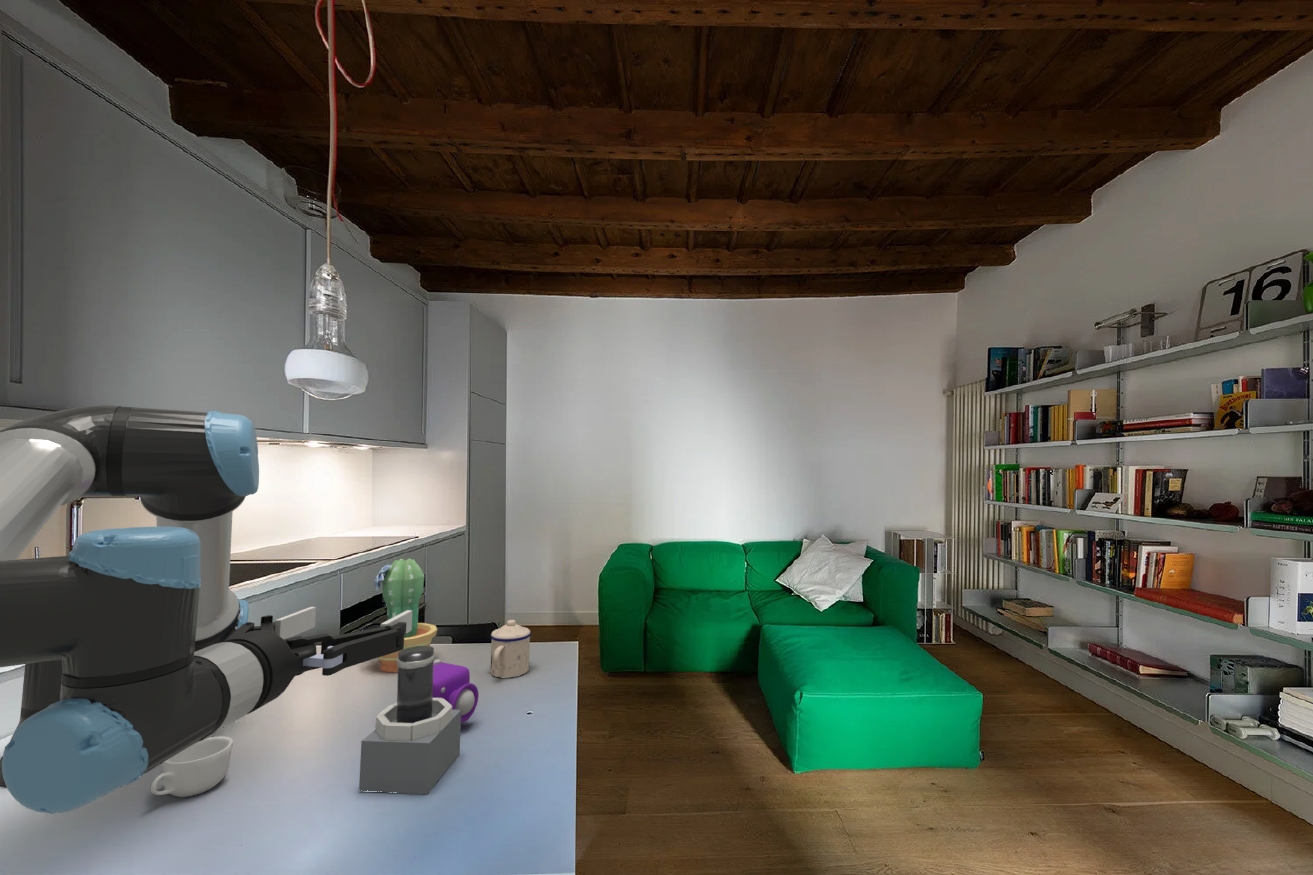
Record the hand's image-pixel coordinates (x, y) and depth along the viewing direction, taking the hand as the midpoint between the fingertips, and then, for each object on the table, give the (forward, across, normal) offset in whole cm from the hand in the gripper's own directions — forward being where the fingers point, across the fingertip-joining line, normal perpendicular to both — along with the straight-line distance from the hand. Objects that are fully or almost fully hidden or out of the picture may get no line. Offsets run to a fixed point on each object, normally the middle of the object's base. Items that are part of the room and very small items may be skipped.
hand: (361, 618), depth 73 cm
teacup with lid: (+51, +5, -27) cm, 58 cm away
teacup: (+3, -26, -26) cm, 37 cm away
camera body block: (+10, +4, -26) cm, 28 cm away
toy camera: (+26, +1, -26) cm, 37 cm away
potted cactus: (+55, -22, -27) cm, 65 cm away
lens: (+10, +4, -19) cm, 21 cm away
